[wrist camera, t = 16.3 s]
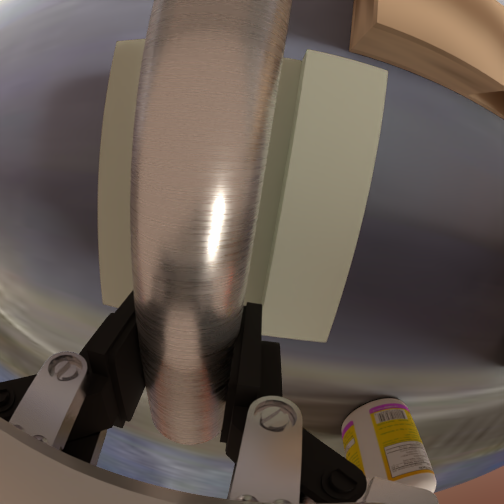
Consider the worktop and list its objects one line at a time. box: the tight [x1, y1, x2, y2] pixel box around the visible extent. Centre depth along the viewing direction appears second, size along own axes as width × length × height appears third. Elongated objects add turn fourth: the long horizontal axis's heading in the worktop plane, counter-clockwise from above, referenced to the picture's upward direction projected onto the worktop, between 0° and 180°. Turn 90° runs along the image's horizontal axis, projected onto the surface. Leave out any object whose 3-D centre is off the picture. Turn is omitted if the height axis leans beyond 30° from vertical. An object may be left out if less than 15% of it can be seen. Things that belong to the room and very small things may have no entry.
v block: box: [98, 39, 388, 342], centre depth 13 cm, size 12×11×6 cm
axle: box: [130, 0, 292, 445], centre depth 7 cm, size 14×3×3 cm, turn 172°
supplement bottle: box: [341, 398, 436, 493], centre depth 17 cm, size 7×7×13 cm
